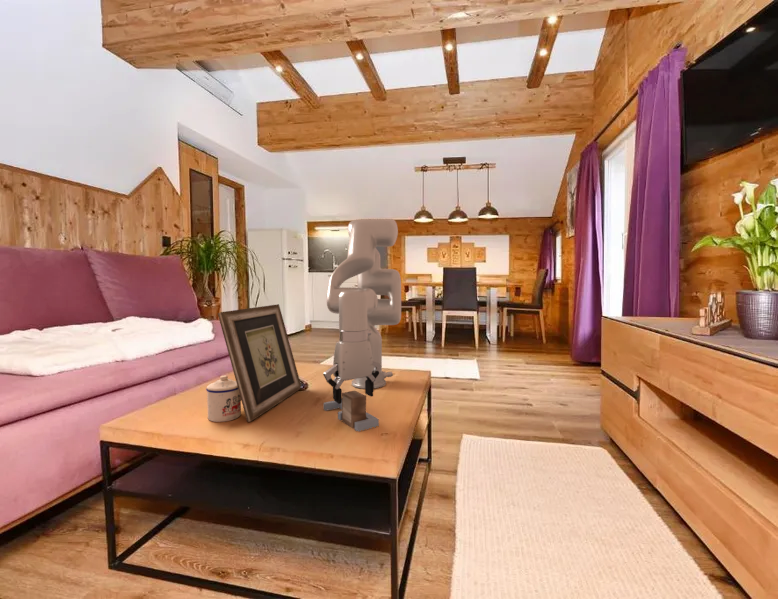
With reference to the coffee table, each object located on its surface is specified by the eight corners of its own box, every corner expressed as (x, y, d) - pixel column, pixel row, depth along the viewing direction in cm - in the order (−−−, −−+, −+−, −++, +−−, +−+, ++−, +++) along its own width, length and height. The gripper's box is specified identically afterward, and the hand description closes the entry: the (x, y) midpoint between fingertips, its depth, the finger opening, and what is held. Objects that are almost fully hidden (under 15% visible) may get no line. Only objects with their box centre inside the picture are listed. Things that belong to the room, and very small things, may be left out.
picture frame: (251, 423, 105) (249, 312, 104) (218, 420, 107) (216, 311, 106) (301, 389, 137) (301, 304, 136) (275, 387, 139) (274, 304, 138)
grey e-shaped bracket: (342, 405, 120) (342, 399, 120) (378, 426, 103) (378, 418, 103) (323, 409, 116) (323, 402, 116) (357, 431, 100) (357, 424, 99)
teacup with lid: (225, 424, 104) (224, 381, 104) (199, 420, 107) (198, 378, 107) (255, 410, 116) (254, 371, 115) (230, 406, 119) (230, 369, 118)
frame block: (354, 418, 109) (354, 390, 108) (366, 425, 104) (366, 395, 104) (341, 421, 107) (341, 392, 106) (352, 428, 102) (352, 398, 101)
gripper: (373, 331, 112) (373, 389, 113) (317, 337, 102) (318, 400, 104) (388, 335, 106) (388, 396, 107) (330, 342, 96) (330, 409, 98)
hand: (353, 398), depth 106 cm, fingers open, 9 cm apart
